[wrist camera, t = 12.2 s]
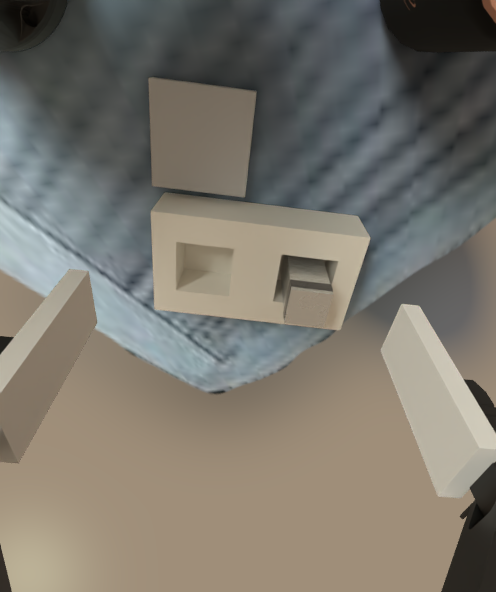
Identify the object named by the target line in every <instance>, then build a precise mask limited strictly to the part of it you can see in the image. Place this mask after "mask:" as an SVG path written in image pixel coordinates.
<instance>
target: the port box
mask: <svg viewBox="0 0 496 592" xmlns="http://www.w3.org/2000/svg"><path fill="white" fill-rule="evenodd" d="M151 231H152V257H153V284H154V309H156V310H164V311H173V312H182V313H191V314H200V315H208V316H217V317H226V318H235V319H243V320H252V321H261V322H270V323H279V324H287V325H296V326H305V327H314V328H323V329H331V330H341V327H342V324H343V321H344V317H345V314H346V311H347V308H348V305H349V302H350V299H351V296H352V293H353V290H354V287H355V284H356V281H357V278H358V275H359V272H360V269H361V266H362V263H363V260H364V257H365V254H366V251H367V248H368V245H369V242H370V239H371V238H370V236H369V234H368V233H367V231H366V229H365V227H364V226H363V224H362V222H361V221H360V219H359V217H358V216H355V215H346V214H338V213H330V212H322V211H314V210H306V209H298V208H290V207H282V206H274V205H266V204H258V203H250V202H242V201H234V200H226V199H217V198H209V197H201V196H193V195H185V194H177V193H169V192H164V194H163V195H162V196H161V198H160V199H159V201H158V202H157V203H156V205H155V206H154V207H153V209H152V210H151ZM284 255H290V256H298V257H306V258H315V259H323V260H324V263H325V267H326V270H327V274H328V277H329V281H330V284H331V285H332V289H333V298H332V301H331V305H330V308H329V312H328V315H327V318H326V322H325V325H324V327H315V326H306V325H297V324H289V323H284V318H283V311H284V310H283V296H282V283H281V269H282V264H283V259H284Z"/></svg>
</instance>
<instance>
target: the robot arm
mask: <svg viewBox="0 0 496 592" xmlns="http://www.w3.org/2000/svg"><path fill="white" fill-rule="evenodd" d="M67 1H68V0H0V52H15V51H22V50H26V49H29V48H32V47H34V46H36V45H38V44H40V43H41V42H42V41H44V40H45V39H46V38H47V37H49V35H50V34H51V33H52V32H53V31H54V30H55V28H56V27H57V25H58V24H59V22H60V20H61V18H62V16H63V14H64V11H65V8H66V5H67ZM96 324H97V318H96V312H95V306H94V300H93V294H92V288H91V283H90V277H89V271H83V270H73V269H69V270H68V271H67V273H66V274H65V275H64V276H63V278H62V279H61V280H60V281H59V283H58V284H57V285H56V286H55V288H54V289H53V290H52V291H51V293H50V294H49V295H48V296H47V297H46V299H45V300H44V301H43V303H42V304H41V305H40V306H39V307H38V309H37V310H36V311H35V312H34V314H33V315H32V316H31V317H30V319H29V320H28V321H27V322H26V323H25V325H24V326H23V327H22V328H21V330H20V331H19V332H18V333H17V335H16V336H15V337H4V336H0V462H7V463H19V462H20V460H21V458H22V456H23V455H24V453H25V451H26V449H27V447H28V446H29V444H30V442H31V440H32V439H33V437H34V435H35V433H36V431H37V429H38V428H39V426H40V424H41V422H42V421H43V419H44V417H45V415H46V414H47V412H48V410H49V408H50V406H51V405H52V403H53V401H54V399H55V397H56V396H57V394H58V392H59V390H60V388H61V387H62V385H63V383H64V381H65V380H66V377H67V376H68V374H69V372H70V371H71V369H72V367H73V365H74V363H75V362H76V360H77V358H78V356H79V355H80V353H81V351H82V349H83V347H84V345H85V344H86V342H87V340H88V338H89V337H90V335H91V333H92V331H93V329H94V328H95V326H96ZM381 353H382V355H383V358H384V361H385V363H386V366H387V368H388V371H389V373H390V376H391V378H392V381H393V383H394V386H395V389H396V391H397V394H398V396H399V399H400V401H401V404H402V406H403V409H404V411H405V414H406V417H407V419H408V421H409V424H410V427H411V429H412V432H413V434H414V437H415V439H416V442H417V444H418V447H419V450H420V452H421V455H422V457H423V460H424V462H425V465H426V467H427V470H428V473H429V475H430V478H431V480H432V483H433V485H434V488H435V490H436V493H437V495H438V496H440V497H452V498H462V496H463V495H464V494H465V493H466V492H467V491H468V490H469V489H470V490H471V492H472V494H473V496H474V498H475V501H474V502H473V503H472V504H471V505H470V506H469V507H468V508H467V509H466V510H465V511H464V512H463V513H462V514H461V516H460V517H461V518H462V519H464V518H465V517H466V516H467V518H466V521H465V524H464V527H463V530H462V532H461V535H460V539H459V541H458V544H457V547H456V550H455V553H454V556H453V559H452V562H451V565H450V568H449V571H448V574H447V577H446V580H445V582H444V585H443V588H442V591H441V592H496V408H495V407H494V404H493V403H492V401H491V399H490V398H489V396H488V395H487V393H486V392H485V391H484V390H483V389H482V388H481V387H480V386H479V385H478V384H477V383H476V382H474V381H473V380H465V379H463V378H462V377H461V375H460V373H459V371H458V370H457V368H456V366H455V365H454V363H453V362H452V360H451V358H450V357H449V355H448V353H447V351H446V350H445V348H444V346H443V345H442V343H441V341H440V340H439V338H438V336H437V335H436V333H435V332H434V330H433V328H432V327H431V325H430V323H429V321H428V320H427V318H426V316H425V315H424V313H423V311H422V310H421V308H420V307H419V306H417V305H407V304H401V306H400V308H399V311H398V313H397V315H396V317H395V320H394V322H393V324H392V326H391V328H390V331H389V333H388V335H387V337H386V339H385V342H384V344H383V346H382V348H381ZM0 592H12V591H11V587H10V582H9V579H8V575H7V570H6V566H5V562H4V558H3V554H2V550H1V545H0Z"/></svg>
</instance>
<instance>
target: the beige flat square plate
mask: <svg viewBox="0 0 496 592" xmlns="http://www.w3.org/2000/svg"><path fill="white" fill-rule="evenodd" d="M148 82H149V111H150V140H151V169H152V186H156V187H164V188H172V189H180V190H188V191H196V192H204V193H212V194H220V195H228V196H236V197H244V198H245V193H246V184H247V175H248V166H249V157H250V148H251V139H252V130H253V121H254V112H255V103H256V94H257V91H255V90H247V89H240V88H232V87H225V86H217V85H210V84H202V83H195V82H187V81H180V80H172V79H165V78H157V77H149V78H148Z"/></svg>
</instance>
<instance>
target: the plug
mask: <svg viewBox="0 0 496 592" xmlns="http://www.w3.org/2000/svg"><path fill="white" fill-rule="evenodd" d="M281 283H282V296H283V310H284V311H283V318H284V323H289V324H297V325H306V326H315V327H324V325H325V322H326V318H327V315H328V312H329V308H330V305H331V301H332V298H333V289H332V285H331V284H330V281H329V277H328V274H327V270H326V267H325V263H324V260H323V259H315V258H306V257H298V256H290V255H284V259H283V264H282V269H281Z"/></svg>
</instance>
